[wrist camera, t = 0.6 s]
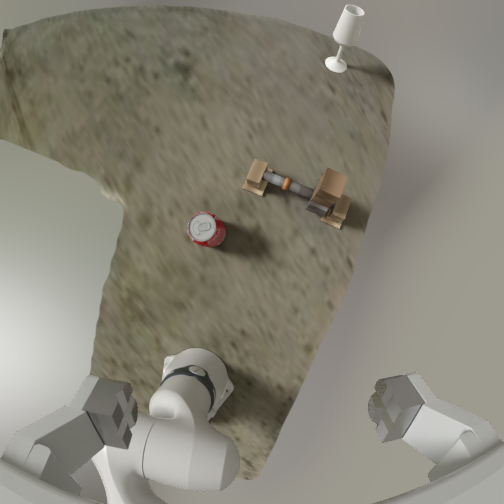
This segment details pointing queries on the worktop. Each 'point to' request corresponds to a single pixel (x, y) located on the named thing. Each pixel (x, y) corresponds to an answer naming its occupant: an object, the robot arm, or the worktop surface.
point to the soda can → (206, 229)
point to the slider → (326, 191)
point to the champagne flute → (346, 35)
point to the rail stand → (263, 175)
